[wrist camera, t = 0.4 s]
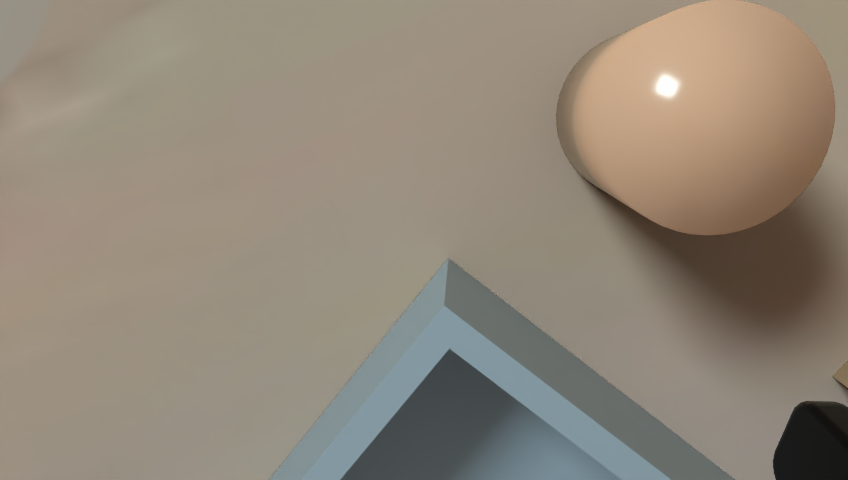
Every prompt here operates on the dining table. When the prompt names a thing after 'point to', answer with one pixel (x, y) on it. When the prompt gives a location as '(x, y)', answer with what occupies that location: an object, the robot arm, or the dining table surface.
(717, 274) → the dining table surface
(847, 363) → the walnut cube
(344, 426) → the tote
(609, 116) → the brown egg
